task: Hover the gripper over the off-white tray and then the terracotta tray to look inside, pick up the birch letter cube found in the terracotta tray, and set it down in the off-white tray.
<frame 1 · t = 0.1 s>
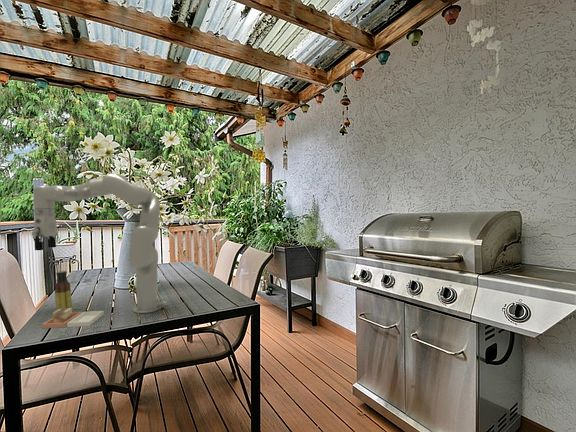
hand: (45, 248, 148), 31 cm above the table, tool pointing down, fingers open, 9 cm apart
tray a: (86, 322, 139), on the table
tray b: (63, 323, 138), on the table
sauce bottle: (63, 312, 152), on the table
letter cube: (63, 321, 138), point 1 cm above the table, touching tray b
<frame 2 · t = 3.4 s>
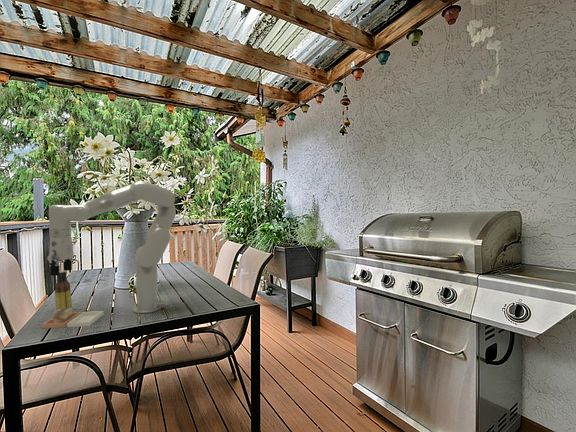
hand: (61, 272, 137), 22 cm above the table, tool pointing down, fingers open, 9 cm apart
nothing on the table moved.
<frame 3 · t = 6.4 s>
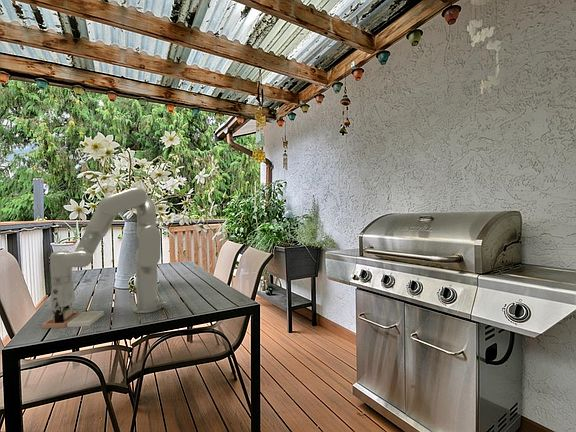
hand: (63, 320, 138), 1 cm above the table, tool pointing down, fingers closed on letter cube, 5 cm apart
letter cube: (63, 321, 138), point 1 cm above the table, touching gripper, tray b
everything else where it was.
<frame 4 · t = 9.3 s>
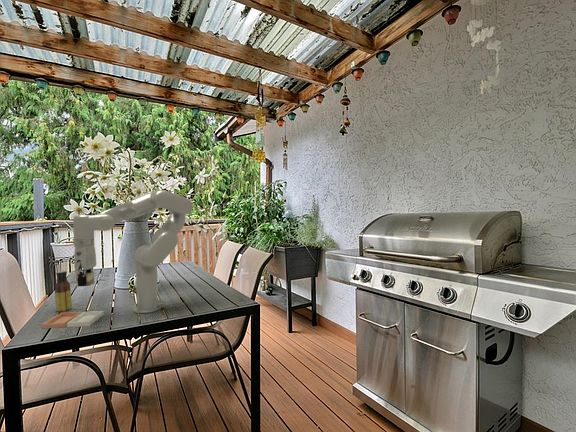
hand: (85, 283, 138), 17 cm above the table, tool pointing down, fingers closed on letter cube, 5 cm apart
letter cube: (85, 284, 138), point 17 cm above the table, touching gripper
everything else where it was.
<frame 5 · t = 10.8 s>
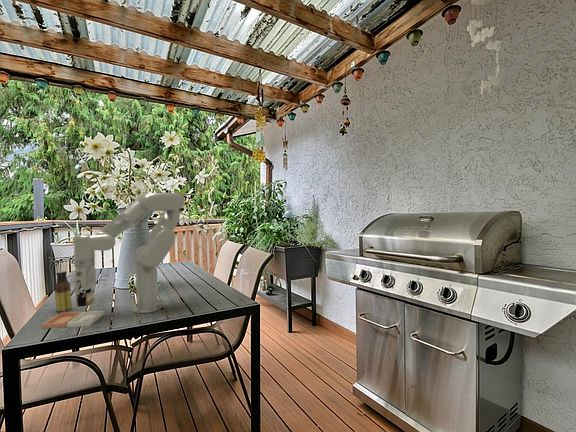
hand: (85, 303, 138), 8 cm above the table, tool pointing down, fingers closed on letter cube, 5 cm apart
letter cube: (85, 304, 139), point 8 cm above the table, touching gripper
everything else where it was.
when the fingers open (3 cm above the table, at t = 12.3 s): letter cube drops 1 cm, resting on tray a.
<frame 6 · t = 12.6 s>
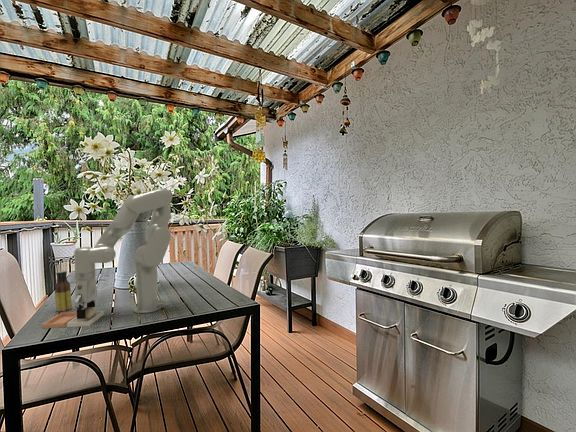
hand: (86, 314, 139), 3 cm above the table, tool pointing down, fingers open, 8 cm apart
letter cube: (86, 320, 139), point 1 cm above the table, touching tray a
everything else where it was.
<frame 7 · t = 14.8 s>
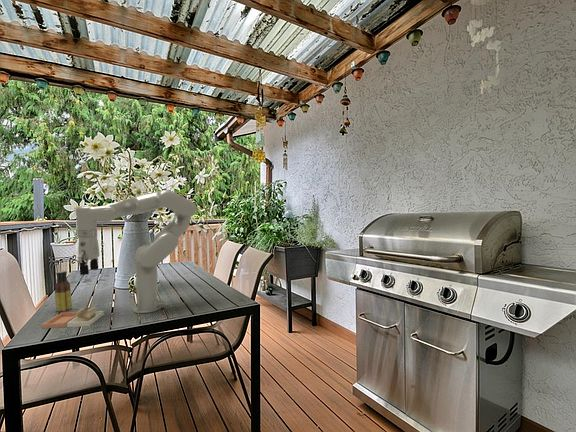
hand: (89, 271, 141), 22 cm above the table, tool pointing down, fingers open, 9 cm apart
nothing on the table moved.
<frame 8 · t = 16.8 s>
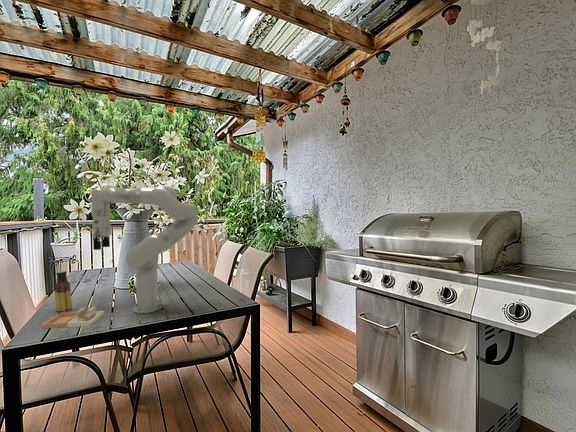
hand: (101, 248, 156), 30 cm above the table, tool pointing down, fingers open, 9 cm apart
nothing on the table moved.
at the end: letter cube inside the target area on the tray a (0.1 cm from its centre), point 0.8 cm above the tray a's base; letter cube tilted 0°; the gripper is holding nothing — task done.
